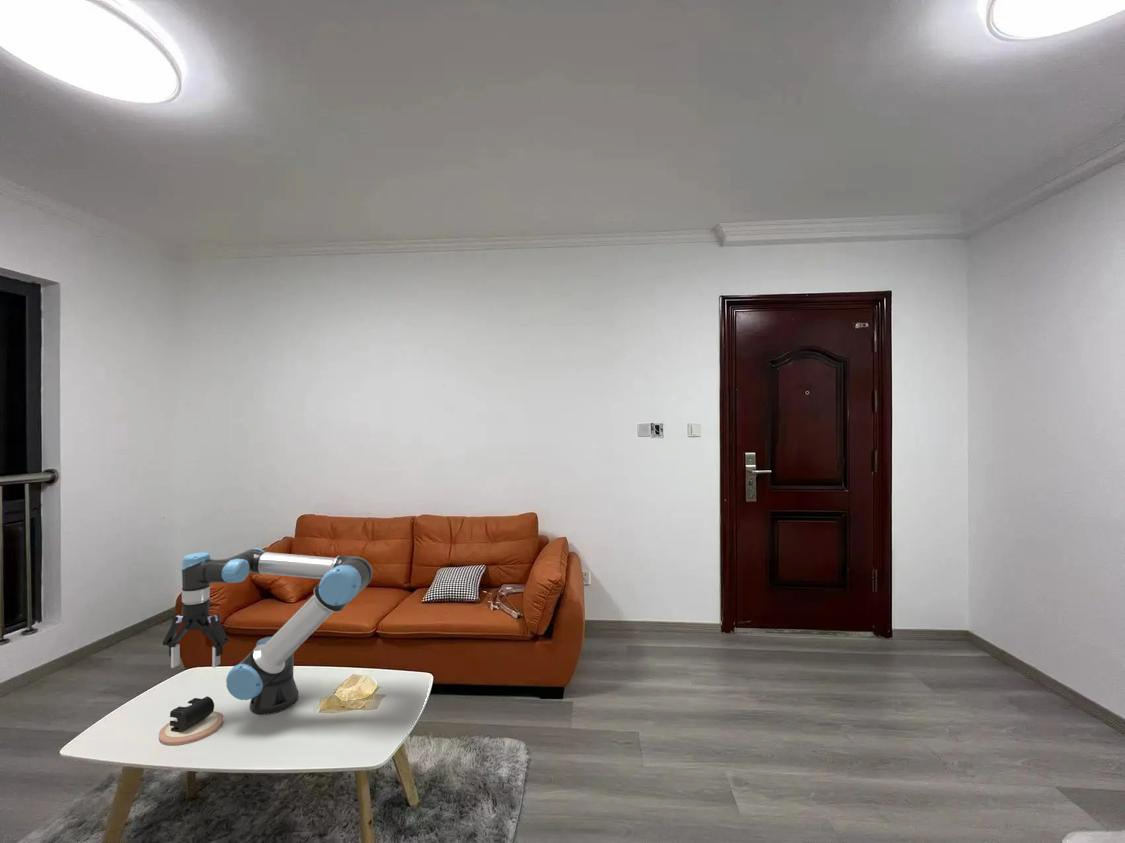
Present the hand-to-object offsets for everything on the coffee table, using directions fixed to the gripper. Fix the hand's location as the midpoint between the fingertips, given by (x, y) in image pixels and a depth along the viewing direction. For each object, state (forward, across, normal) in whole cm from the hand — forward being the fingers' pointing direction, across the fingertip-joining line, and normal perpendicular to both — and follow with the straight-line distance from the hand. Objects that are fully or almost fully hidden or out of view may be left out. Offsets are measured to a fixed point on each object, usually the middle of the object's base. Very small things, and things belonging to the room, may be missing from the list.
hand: (195, 666), depth 170 cm
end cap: (+18, 0, +2) cm, 18 cm away
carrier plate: (+20, 0, +2) cm, 20 cm away
